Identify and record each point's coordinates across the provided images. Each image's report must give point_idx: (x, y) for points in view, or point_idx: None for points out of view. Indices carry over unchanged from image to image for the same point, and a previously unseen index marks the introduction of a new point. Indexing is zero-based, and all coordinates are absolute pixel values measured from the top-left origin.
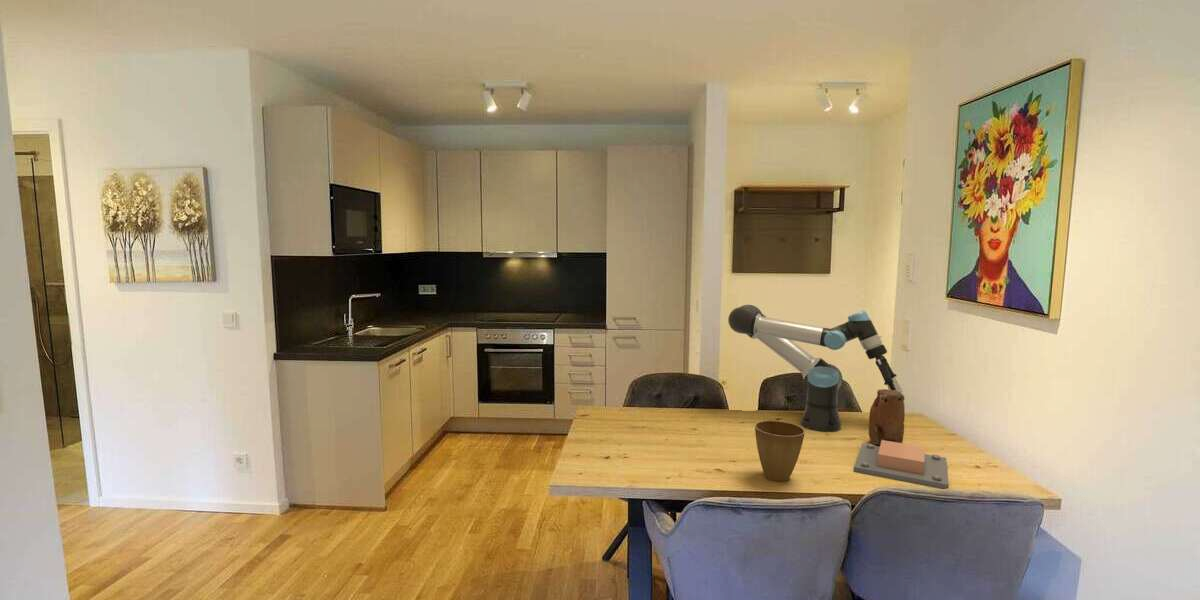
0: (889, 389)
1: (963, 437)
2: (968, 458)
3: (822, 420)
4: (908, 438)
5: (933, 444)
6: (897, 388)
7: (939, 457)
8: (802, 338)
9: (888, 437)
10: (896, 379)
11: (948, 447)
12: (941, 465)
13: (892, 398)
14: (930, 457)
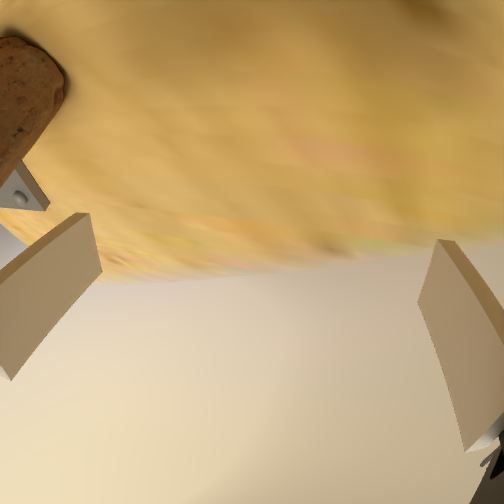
0: (2, 270)
1: (307, 263)
2: (114, 238)
3: None
4: (159, 124)
5: (156, 190)
6: (443, 310)
7: (19, 205)
8: None
9: None
10: (465, 421)
11: (162, 218)
12: (4, 201)
13: None
14: (16, 188)
